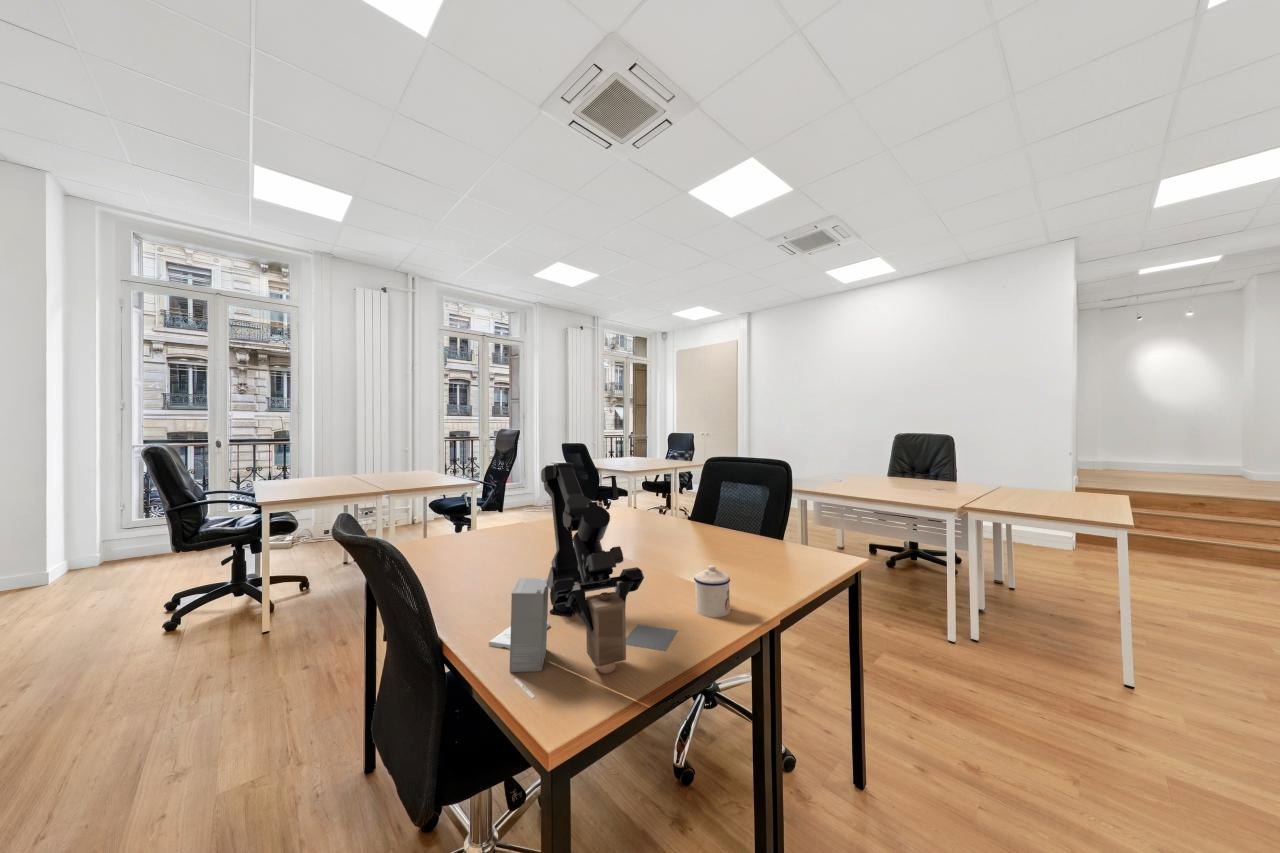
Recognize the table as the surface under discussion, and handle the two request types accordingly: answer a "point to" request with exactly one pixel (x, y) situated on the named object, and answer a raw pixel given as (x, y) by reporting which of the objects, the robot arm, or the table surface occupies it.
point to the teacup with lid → (712, 593)
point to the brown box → (606, 629)
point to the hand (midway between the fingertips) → (607, 626)
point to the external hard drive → (504, 639)
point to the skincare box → (529, 624)
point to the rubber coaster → (651, 637)
